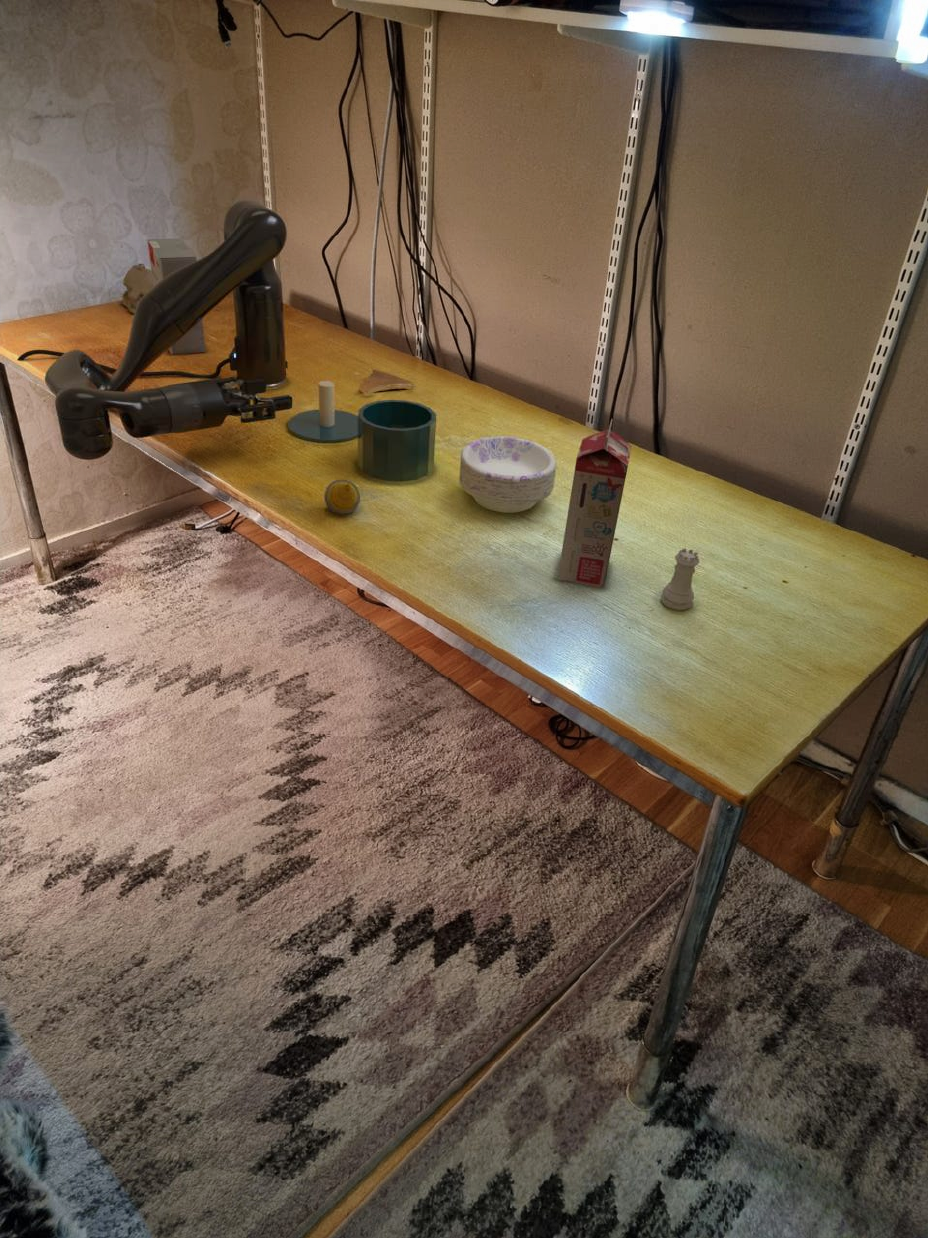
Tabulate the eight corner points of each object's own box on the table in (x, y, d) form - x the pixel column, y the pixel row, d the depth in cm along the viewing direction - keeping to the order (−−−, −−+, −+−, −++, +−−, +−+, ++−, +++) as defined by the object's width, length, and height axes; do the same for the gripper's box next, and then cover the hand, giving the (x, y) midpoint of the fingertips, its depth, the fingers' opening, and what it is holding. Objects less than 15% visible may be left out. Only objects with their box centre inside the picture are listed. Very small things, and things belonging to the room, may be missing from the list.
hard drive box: (158, 332, 196) (146, 238, 185) (193, 330, 199) (183, 237, 187) (170, 355, 185) (158, 256, 173) (207, 352, 188) (197, 255, 176)
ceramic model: (183, 310, 210) (178, 267, 205) (140, 318, 203) (134, 273, 198) (151, 296, 218) (146, 254, 212) (109, 303, 211) (103, 260, 205)
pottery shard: (359, 397, 174) (359, 384, 172) (359, 380, 181) (359, 368, 180) (412, 398, 175) (412, 386, 173) (409, 381, 182) (409, 369, 181)
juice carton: (608, 564, 127) (636, 422, 115) (603, 587, 122) (632, 441, 109) (563, 556, 128) (586, 414, 116) (557, 579, 123) (580, 433, 110)
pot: (355, 482, 143) (355, 427, 138) (360, 449, 153) (360, 397, 148) (433, 486, 144) (436, 432, 138) (433, 453, 154) (436, 402, 149)
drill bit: (363, 504, 138) (374, 486, 128) (338, 526, 136) (347, 509, 127) (340, 479, 137) (349, 459, 128) (315, 500, 136) (322, 481, 126)
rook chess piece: (656, 593, 122) (668, 544, 117) (686, 593, 122) (699, 544, 118) (664, 611, 118) (677, 561, 114) (696, 612, 119) (710, 562, 114)
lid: (283, 443, 153) (280, 395, 148) (293, 413, 164) (291, 367, 159) (363, 448, 154) (363, 400, 149) (367, 417, 165) (368, 372, 160)
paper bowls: (491, 530, 133) (496, 483, 128) (440, 488, 143) (443, 444, 139) (569, 511, 140) (577, 466, 136) (515, 472, 150) (521, 429, 146)
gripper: (170, 414, 145) (257, 400, 155) (211, 445, 137) (300, 428, 146) (167, 370, 141) (256, 359, 151) (208, 398, 133) (300, 385, 142)
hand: (278, 393), depth 149 cm, fingers open, 8 cm apart
